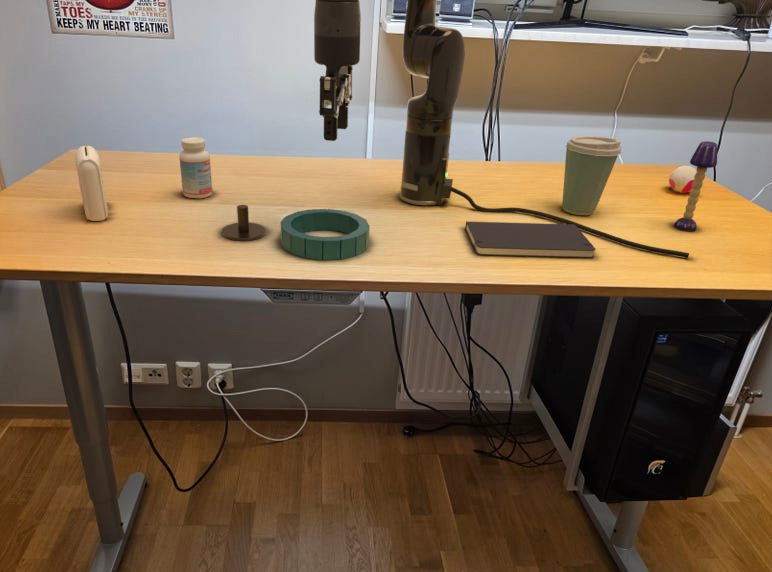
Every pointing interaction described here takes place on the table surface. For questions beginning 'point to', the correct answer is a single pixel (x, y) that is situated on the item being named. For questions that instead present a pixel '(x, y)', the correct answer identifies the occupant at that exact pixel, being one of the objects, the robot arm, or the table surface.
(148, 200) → the table surface
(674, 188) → the stress ball
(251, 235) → the peg stand
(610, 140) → the disposable coffee cup
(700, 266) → the table surface
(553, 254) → the notebook
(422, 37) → the robot arm
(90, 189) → the photo printer
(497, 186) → the table surface
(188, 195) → the pill bottle
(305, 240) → the ring
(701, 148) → the toy lamp
